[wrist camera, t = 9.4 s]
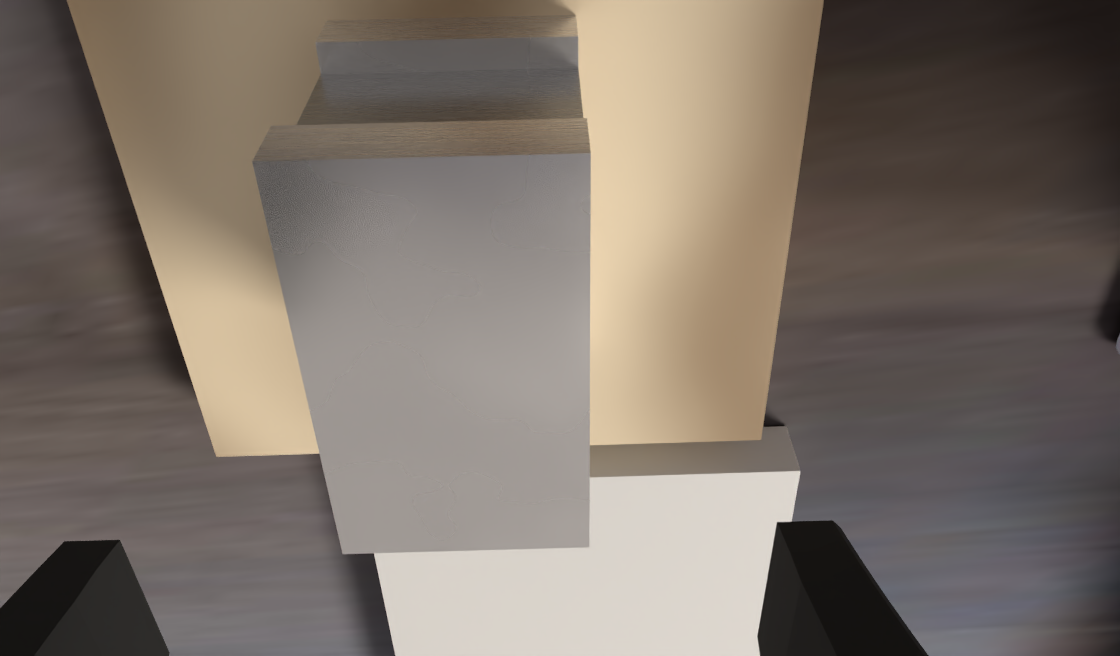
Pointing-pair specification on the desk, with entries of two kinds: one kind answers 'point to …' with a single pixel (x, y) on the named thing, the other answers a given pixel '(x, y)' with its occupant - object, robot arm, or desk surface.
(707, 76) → the stand
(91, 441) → the desk surface
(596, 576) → the stand
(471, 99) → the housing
